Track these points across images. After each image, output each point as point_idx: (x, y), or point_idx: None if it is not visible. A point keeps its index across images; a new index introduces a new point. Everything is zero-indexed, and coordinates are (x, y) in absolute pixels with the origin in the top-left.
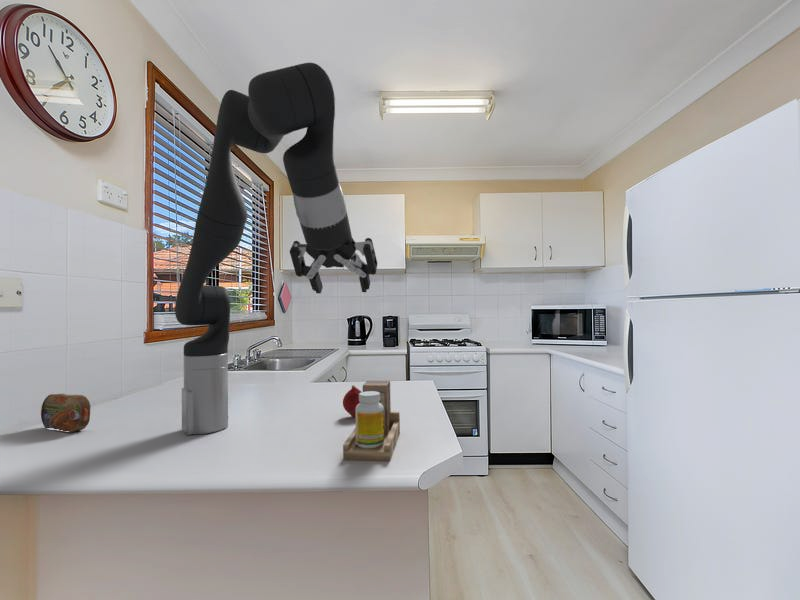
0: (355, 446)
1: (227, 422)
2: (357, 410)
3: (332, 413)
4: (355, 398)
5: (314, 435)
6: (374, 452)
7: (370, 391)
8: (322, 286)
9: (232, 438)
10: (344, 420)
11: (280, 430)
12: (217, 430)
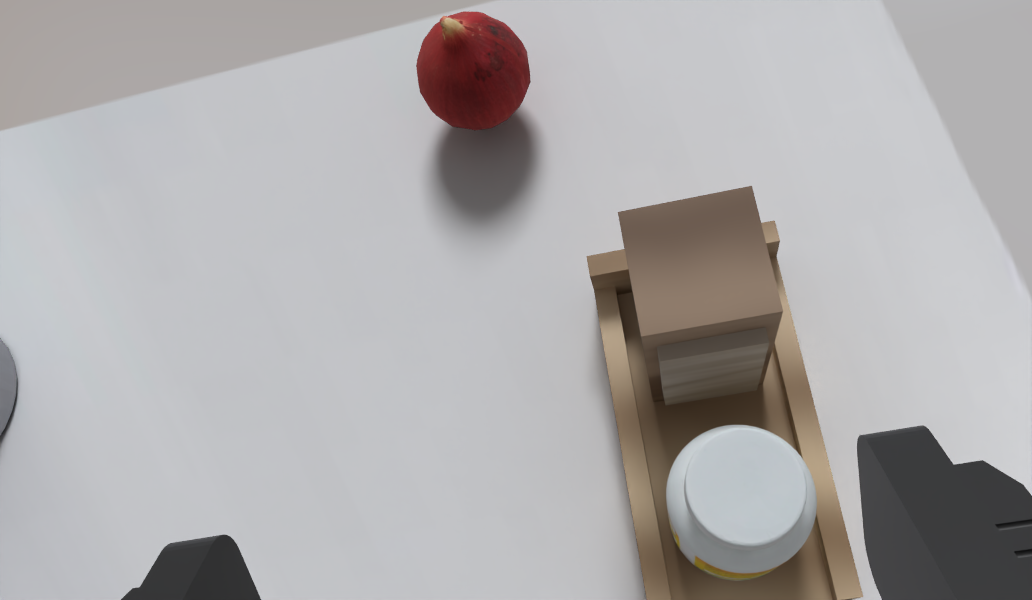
0: (680, 558)
1: (3, 360)
2: (696, 553)
3: (370, 87)
4: (487, 90)
5: (414, 377)
6: None
7: (731, 438)
8: (226, 540)
9: (103, 487)
10: (461, 164)
11: (248, 351)
12: (2, 428)
